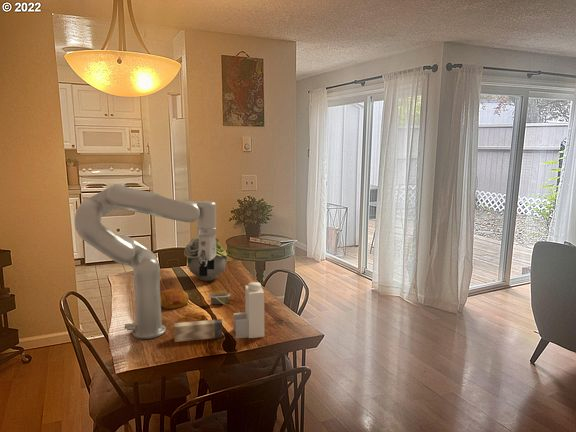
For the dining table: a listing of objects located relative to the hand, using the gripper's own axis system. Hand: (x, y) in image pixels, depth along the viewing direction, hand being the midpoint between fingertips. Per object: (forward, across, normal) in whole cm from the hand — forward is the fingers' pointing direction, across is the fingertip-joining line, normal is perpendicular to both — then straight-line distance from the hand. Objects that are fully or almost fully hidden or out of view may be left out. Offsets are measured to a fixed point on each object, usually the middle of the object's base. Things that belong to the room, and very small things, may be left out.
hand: (207, 272), depth 172 cm
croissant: (+23, +20, +23) cm, 38 cm away
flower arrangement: (+22, +60, +18) cm, 66 cm away
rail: (+22, -13, -1) cm, 26 cm away
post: (+22, -7, -19) cm, 30 cm away
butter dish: (+23, +22, +1) cm, 32 cm away
